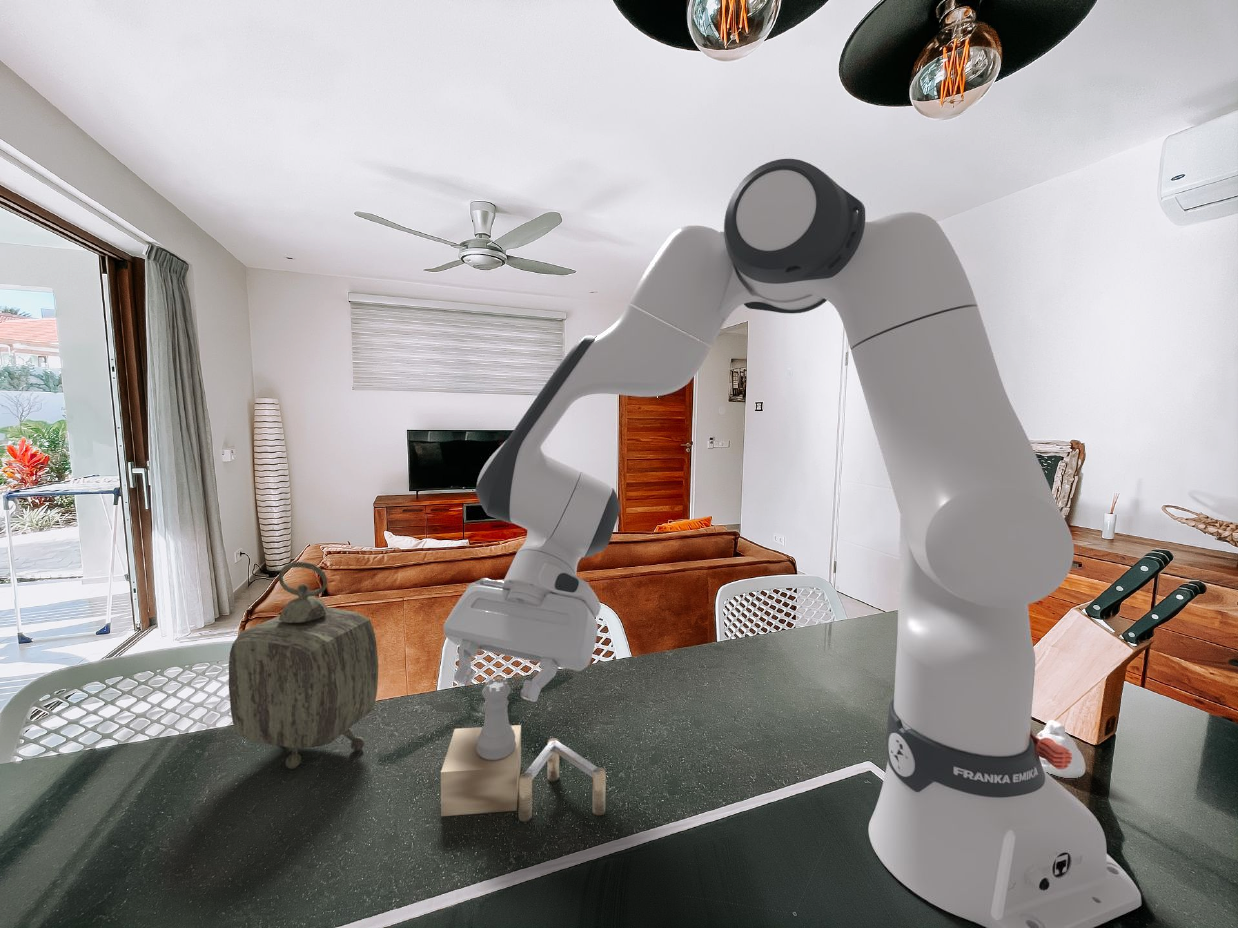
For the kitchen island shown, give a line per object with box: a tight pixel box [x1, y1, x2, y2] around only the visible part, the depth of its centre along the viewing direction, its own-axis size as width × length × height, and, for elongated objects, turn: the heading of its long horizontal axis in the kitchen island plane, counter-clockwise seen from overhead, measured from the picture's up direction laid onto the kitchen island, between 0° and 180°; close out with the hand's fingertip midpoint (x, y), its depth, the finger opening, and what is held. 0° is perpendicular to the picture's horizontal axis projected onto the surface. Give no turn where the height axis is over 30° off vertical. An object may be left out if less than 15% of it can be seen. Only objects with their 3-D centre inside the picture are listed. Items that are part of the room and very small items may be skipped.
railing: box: [518, 737, 607, 822], centre depth 59 cm, size 9×7×4 cm
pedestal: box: [440, 724, 522, 817], centre depth 60 cm, size 8×8×5 cm
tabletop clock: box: [228, 561, 379, 770], centre depth 64 cm, size 14×9×25 cm, turn 77°
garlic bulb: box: [1035, 719, 1086, 779], centre depth 65 cm, size 6×6×5 cm
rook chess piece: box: [476, 677, 516, 761], centre depth 59 cm, size 4×4×8 cm
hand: (493, 690), depth 61 cm, fingers open, 8 cm apart
